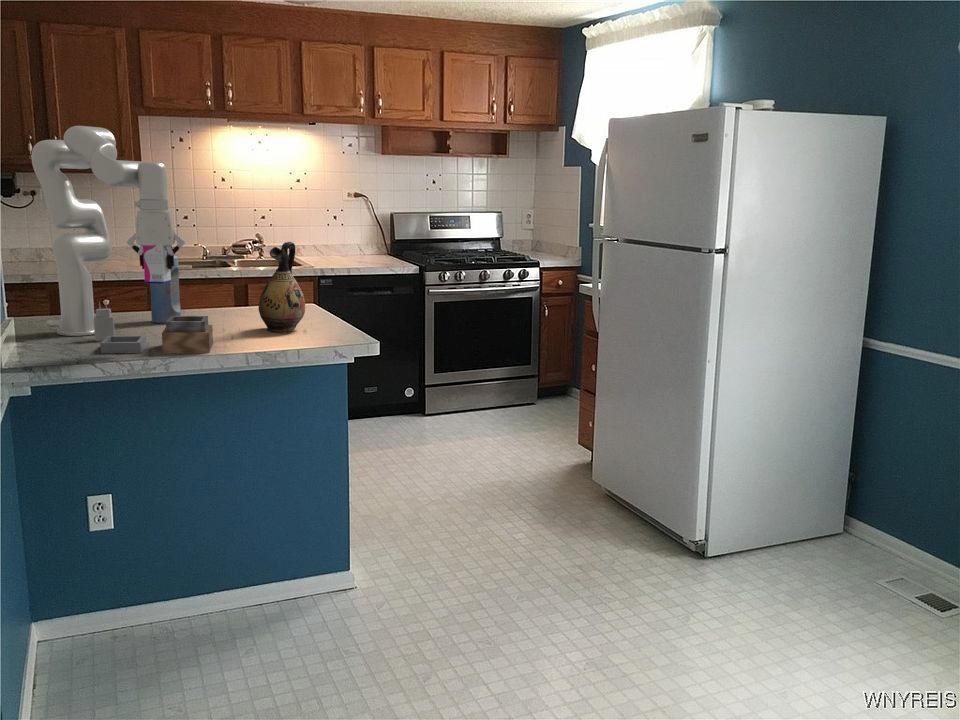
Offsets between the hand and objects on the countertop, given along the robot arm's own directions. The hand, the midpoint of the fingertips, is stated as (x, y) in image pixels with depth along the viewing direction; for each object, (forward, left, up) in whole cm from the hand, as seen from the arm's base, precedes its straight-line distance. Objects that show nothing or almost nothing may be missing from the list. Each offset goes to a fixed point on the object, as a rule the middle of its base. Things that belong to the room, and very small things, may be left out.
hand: (157, 268), depth 238 cm
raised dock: (+8, 0, -24) cm, 25 cm away
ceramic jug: (+36, +30, -24) cm, 53 cm away
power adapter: (-18, +15, -24) cm, 34 cm away
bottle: (-4, +47, -24) cm, 53 cm away
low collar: (-10, 0, -24) cm, 26 cm away
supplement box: (0, 0, -4) cm, 4 cm away
